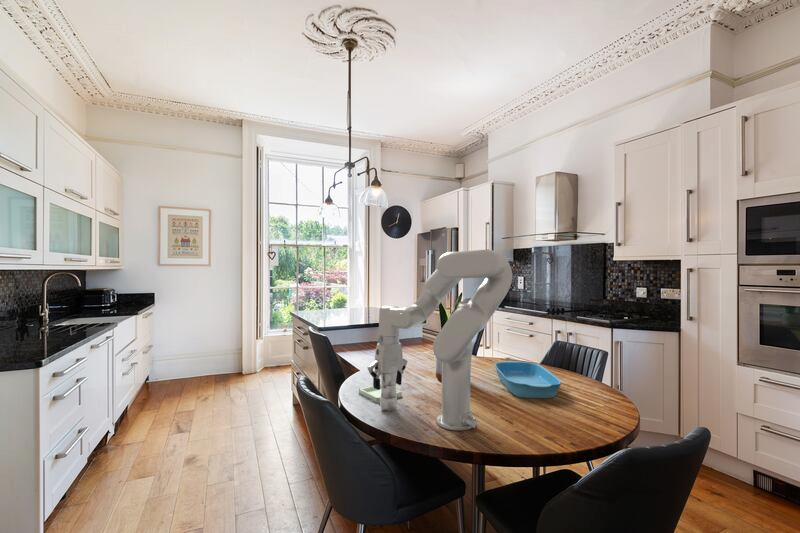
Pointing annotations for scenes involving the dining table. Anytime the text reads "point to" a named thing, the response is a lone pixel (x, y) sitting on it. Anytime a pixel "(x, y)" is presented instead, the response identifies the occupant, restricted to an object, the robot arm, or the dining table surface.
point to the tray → (375, 393)
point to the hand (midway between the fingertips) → (387, 386)
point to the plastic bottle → (389, 390)
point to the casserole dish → (527, 379)
